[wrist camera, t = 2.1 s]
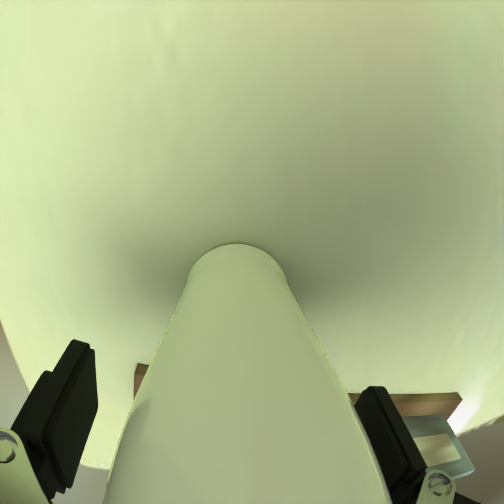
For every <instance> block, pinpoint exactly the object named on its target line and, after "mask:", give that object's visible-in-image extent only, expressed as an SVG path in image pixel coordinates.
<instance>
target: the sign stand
mask: <svg viewBox="0 0 504 504" xmlns="http://www.w3.org/2000/svg"><path fill="white" fill-rule="evenodd" d="M148 367H149V366H146V365H142V364H138V365H137V368H136V370H135V373H134V399H135V396H136V394H137V392H138V389H139V387H140V385H141V383H142V380H143V378H144V376H145V374H146V371H147V369H148ZM360 395H361V394H348V396H349V398H350V400H351V402H352V404H353V406H354V405H355V403H356V402H357V400H358V398H359V397H360ZM390 397H391V399H392V401H393V403H394V404H395V406H396V408H397V410H398V412H399V414H400V415H401V417H402V419H403V421H404V423H405V425H406V426H407V428H408V430H409V432H410V434H411V436H412V438H413V440H414V441H415V443H416V445H417V447H418V449H419V451H420V453H421V455H422V457H423V459H424V461H425V463H426V465H427V467H428V468H427V469H426V470H425V471H426V473H428V472H430V471H432V470H440V471H444V472H445V473H447V474H448V475H449V476H450V477H451V478H452V479H456V478H459V477H462V476H465V475H469V474H471V473H472V472H473V471H474V470H475V468H474V467H473V465H472V463H471V461H470V459H469V458H468V456H467V455H466V453H465V451H464V449H463V447H462V446H461V444H460V442H459V441H458V439H457V437H456V436H455V434H454V432H453V431H452V429H451V427H450V426H449V424H448V422H447V419H448V418H449V417H450V416H451V414H452V413H453V412H454V410H455V409H456V408H457V406H458V405H459V404H460V402H461V401H462V400H463V399H462V398H461V397H460V395H459V394H458V393H443V394H415V395H390Z"/></svg>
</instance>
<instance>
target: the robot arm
mask: <svg viewBox="0 0 504 504" xmlns="http://www.w3.org/2000/svg"><path fill="white" fill-rule="evenodd" d="M354 408H355V410H356V412H357V414H358V416H359V418H360V420H361V422H362V424H363V426H364V428H365V431H366V433H367V435H368V437H369V440H370V442H371V445H372V447H373V449H374V452H375V454H376V457H377V459H378V462H379V465H380V467H381V470H382V473H383V476H384V478H385V481H386V484H387V487H388V490H389V493H390V497H391V500H392V503H393V504H481V503H478V502H476V501H473V500H471V499H469V498H467V497H465V496H463V495H460V494H458V493H456V492H455V484H454V481H453V479H452V478H451V477H450V476H449V475H448V474H447V473H445V472H444V471H440V470H432V471H430V472H428V473H426V471H425V470H426V469H427V468H428V467H427V465H426V463H425V461H424V459H423V457H422V455H421V453H420V451H419V449H418V447H417V445H416V443H415V441H414V440H413V438H412V436H411V434H410V432H409V430H408V428H407V426H406V425H405V423H404V421H403V419H402V417H401V415H400V414H399V412H398V410H397V408H396V406H395V404H394V403H393V401H392V399H391V397H390V395H389V394H388V392H387V390H386V389H385V387H383V386H369V387H368V388H367V389H366V390H364V391H363V392H362V393H361V395H360V397H359V398H358V400H357V402H356V403H355V405H354ZM97 409H98V396H97V383H96V368H95V351H94V349H90V345H89V344H88V343H85V342H82V341H78V340H75V339H73V340H72V341H71V342H70V344H69V345H68V347H67V348H66V350H65V352H64V353H63V355H62V357H61V358H60V360H59V361H58V363H57V365H56V366H55V368H54V370H53V372H50V371H47V370H46V371H44V372H43V373H42V375H41V376H40V378H39V379H38V381H37V383H36V384H35V386H34V388H33V389H32V391H31V393H30V395H29V396H28V398H27V400H26V402H25V403H24V405H23V407H22V409H21V410H20V412H19V414H18V416H17V418H16V420H15V421H14V423H13V425H12V427H11V429H7V428H4V427H0V504H53V502H52V500H51V499H53V498H54V496H55V493H56V491H57V492H59V493H62V494H64V493H65V490H66V487H67V488H69V489H70V488H71V487H72V485H73V482H74V478H75V475H76V472H77V469H78V466H79V463H80V459H81V456H82V453H83V450H84V447H85V444H86V441H87V439H88V436H89V433H90V430H91V427H92V424H93V421H94V419H95V416H96V413H97Z"/></svg>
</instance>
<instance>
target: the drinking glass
mask: <svg viewBox="0 0 504 504" xmlns="http://www.w3.org/2000/svg"><path fill="white" fill-rule="evenodd" d="M103 504H393V503H392V500H391V497H390V493H389V490H388V487H387V484H386V481H385V478H384V476H383V473H382V470H381V467H380V465H379V462H378V459H377V457H376V454H375V452H374V449H373V447H372V445H371V442H370V440H369V437H368V435H367V433H366V431H365V428H364V426H363V424H362V422H361V420H360V418H359V416H358V414H357V412H356V410H355V408H354V406H353V404H352V402H351V400H350V398H349V396H348V394H347V392H346V390H345V388H344V386H343V384H342V383H341V381H340V379H339V377H338V375H337V373H336V372H335V370H334V368H333V366H332V364H331V363H330V361H329V359H328V357H327V355H326V354H325V352H324V350H323V348H322V346H321V345H320V343H319V341H318V339H317V337H316V336H315V334H314V332H313V330H312V328H311V326H310V325H309V323H308V321H307V319H306V317H305V316H304V314H303V312H302V310H301V308H300V306H299V305H298V303H297V301H296V299H295V297H294V295H293V294H292V292H291V290H290V288H289V286H288V283H287V280H286V277H285V275H284V272H283V271H282V269H281V267H280V266H279V264H278V263H277V262H276V261H275V259H273V258H272V257H271V256H270V255H269V254H268V253H266V252H264V251H263V250H261V249H259V248H256V247H253V246H250V245H245V244H228V245H223V246H220V247H217V248H214V249H212V250H211V251H209V252H207V253H206V254H204V255H203V256H202V257H201V258H200V259H199V260H198V261H197V262H196V263H195V264H194V266H193V267H192V269H191V271H190V273H189V275H188V278H187V281H186V284H185V288H184V291H183V293H182V295H181V297H180V299H179V302H178V304H177V306H176V308H175V310H174V312H173V315H172V317H171V319H170V321H169V323H168V326H167V328H166V330H165V332H164V334H163V336H162V339H161V341H160V343H159V345H158V347H157V349H156V352H155V354H154V356H153V358H152V360H151V363H150V365H149V367H148V369H147V371H146V374H145V376H144V378H143V380H142V383H141V385H140V387H139V389H138V392H137V394H136V396H135V399H134V401H133V404H132V406H131V408H130V411H129V413H128V416H127V419H126V421H125V424H124V427H123V429H122V432H121V435H120V438H119V441H118V445H117V448H116V451H115V455H114V458H113V462H112V465H111V469H110V473H109V477H108V481H107V486H106V490H105V495H104V500H103Z"/></svg>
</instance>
